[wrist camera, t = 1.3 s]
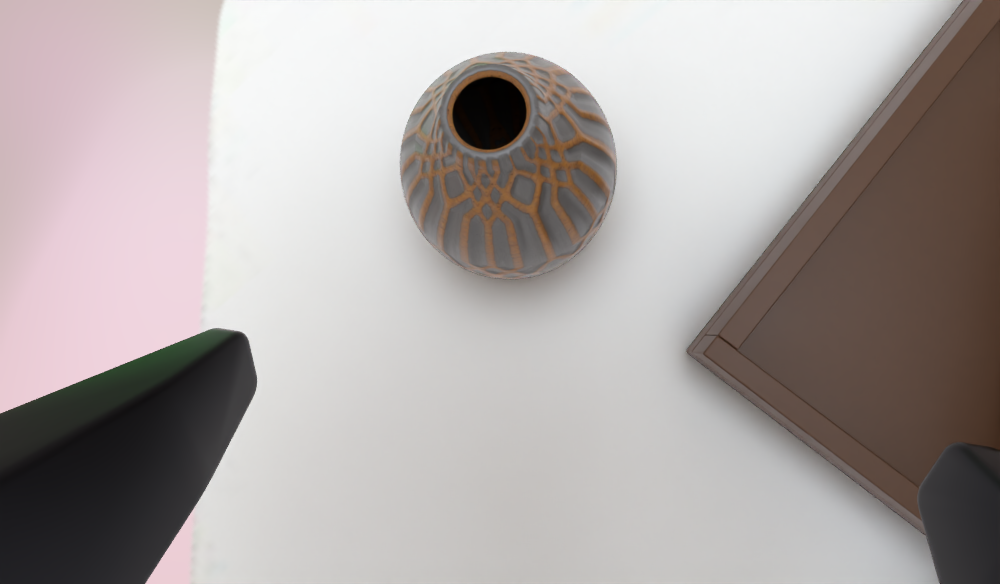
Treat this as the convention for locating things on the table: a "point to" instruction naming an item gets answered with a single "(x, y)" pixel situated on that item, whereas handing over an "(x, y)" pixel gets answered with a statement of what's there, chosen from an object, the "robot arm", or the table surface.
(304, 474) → the table surface
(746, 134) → the table surface
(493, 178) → the vase
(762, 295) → the tray
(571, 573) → the table surface
